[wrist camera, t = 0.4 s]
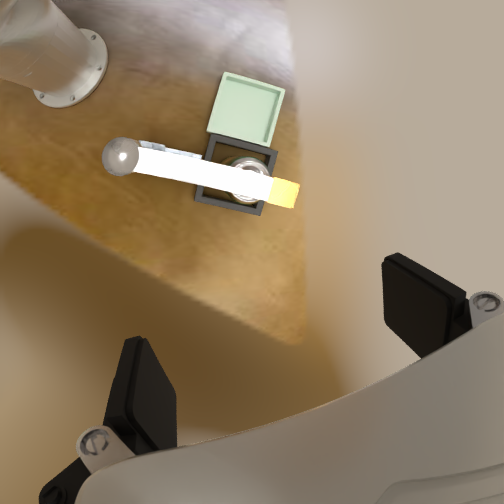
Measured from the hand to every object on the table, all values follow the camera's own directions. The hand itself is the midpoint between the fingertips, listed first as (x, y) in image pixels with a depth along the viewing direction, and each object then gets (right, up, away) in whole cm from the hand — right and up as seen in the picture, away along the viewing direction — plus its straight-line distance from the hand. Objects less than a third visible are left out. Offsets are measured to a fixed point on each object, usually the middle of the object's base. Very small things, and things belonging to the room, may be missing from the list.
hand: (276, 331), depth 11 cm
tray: (-2, +22, +28) cm, 36 cm away
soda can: (-3, +14, +31) cm, 34 cm away
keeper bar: (-6, +10, +16) cm, 20 cm away
